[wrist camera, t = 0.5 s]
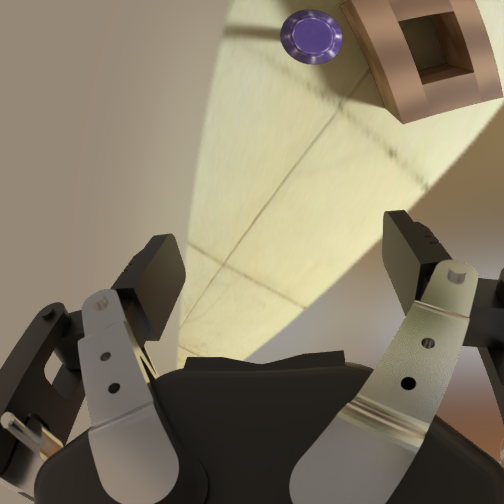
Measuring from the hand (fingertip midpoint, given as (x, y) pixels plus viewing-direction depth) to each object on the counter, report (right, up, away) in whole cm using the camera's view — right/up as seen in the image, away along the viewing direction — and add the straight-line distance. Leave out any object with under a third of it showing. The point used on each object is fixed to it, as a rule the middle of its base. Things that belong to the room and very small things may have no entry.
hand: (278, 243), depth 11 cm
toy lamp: (+5, +24, +17) cm, 30 cm away
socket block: (+18, +24, +14) cm, 33 cm away
